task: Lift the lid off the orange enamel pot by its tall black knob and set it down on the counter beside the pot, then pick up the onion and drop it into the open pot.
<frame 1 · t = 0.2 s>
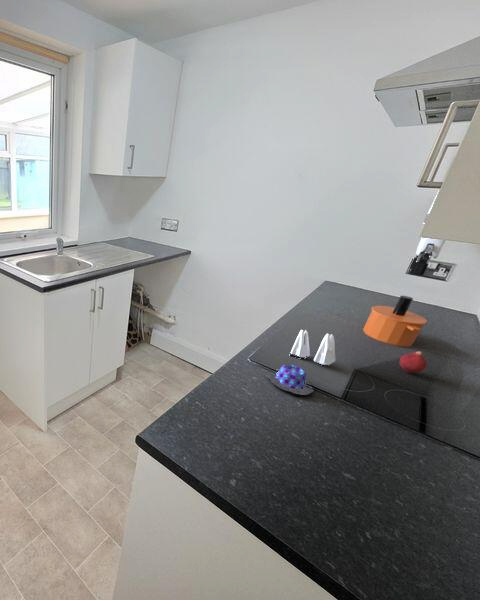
hand: (415, 272, 106), 29 cm above the counter, tool pointing down, fingers open, 9 cm apart
pot lid: (397, 315, 120), point 9 cm above the counter, touching pot
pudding: (288, 384, 92), on the counter
pot: (386, 336, 123), on the counter
onion: (406, 373, 101), on the counter
shaker set: (310, 361, 104), on the counter
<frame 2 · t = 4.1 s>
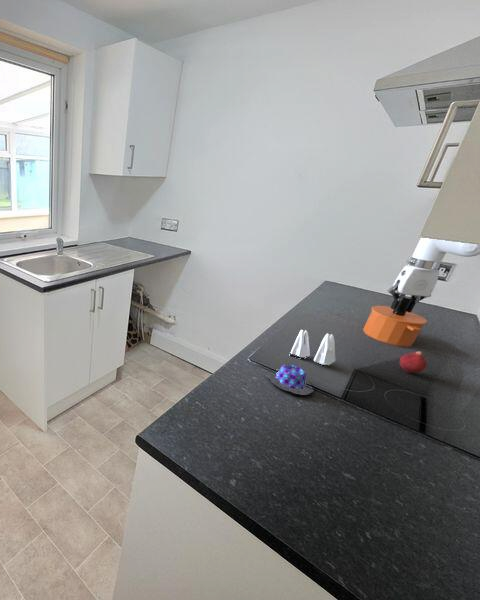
hand: (400, 309, 119), 12 cm above the counter, tool pointing down, fingers closed on pot lid, 3 cm apart
pot lid: (397, 315, 120), point 10 cm above the counter, touching gripper, pot
everything else where it was.
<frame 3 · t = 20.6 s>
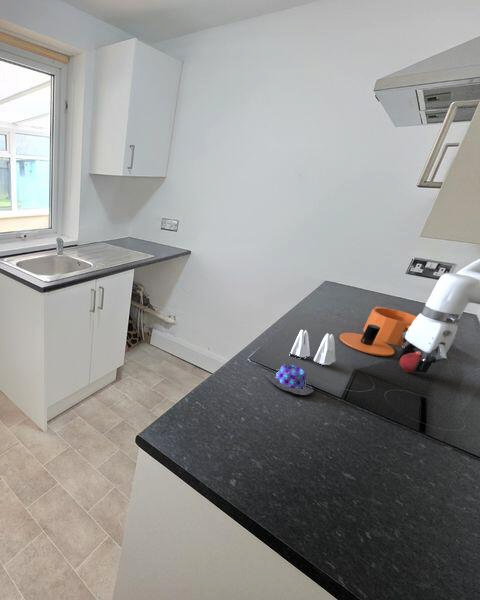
hand: (411, 364, 99), 3 cm above the counter, tool pointing down, fingers closed on onion, 5 cm apart
pot lid: (365, 344, 115), point 1 cm above the counter
onion: (406, 373, 101), on the counter, touching gripper
everything else where it was.
when the fingers open (10 cm above the counter, at t = 29.1 s): onion drops 5 cm, resting on pot.
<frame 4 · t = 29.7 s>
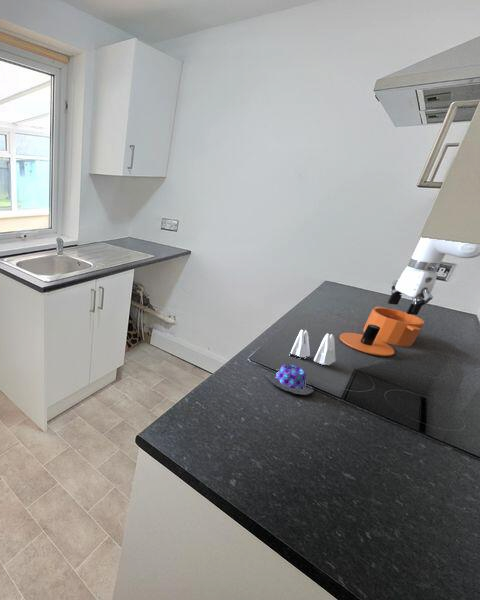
hand: (401, 308, 118), 12 cm above the counter, tool pointing down, fingers open, 9 cm apart
onion: (388, 333, 123), point 1 cm above the counter, touching pot
everything else where it was.
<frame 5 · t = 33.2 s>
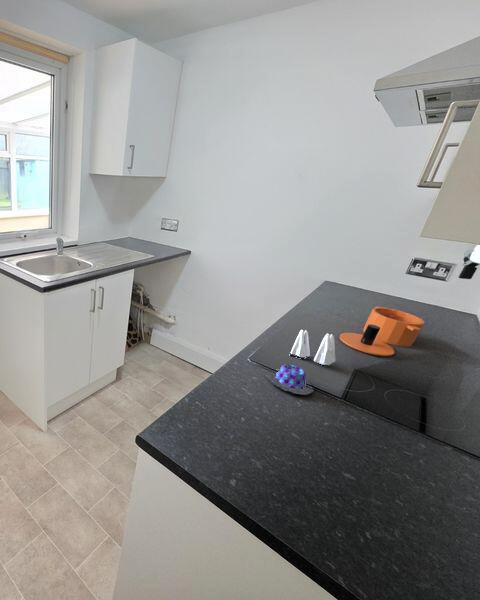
hand: (478, 283, 99), 28 cm above the counter, tool pointing down, fingers open, 9 cm apart
nothing on the counter moved.
at the end: pot lid inside the target area (0.1 cm from its centre), point 0.6 cm above the counter; pot lid tilted 0°; onion inside the target area in the pot (0.3 cm from its centre), point 1.3 cm above the pot's base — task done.
